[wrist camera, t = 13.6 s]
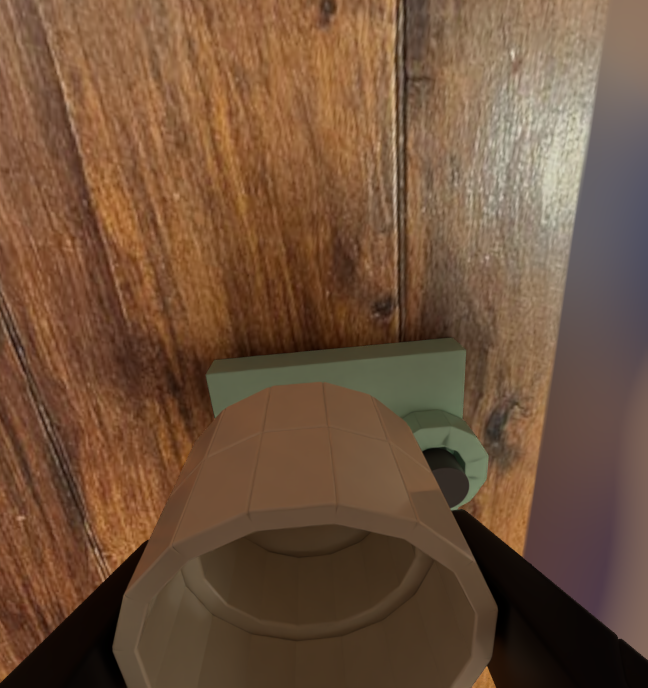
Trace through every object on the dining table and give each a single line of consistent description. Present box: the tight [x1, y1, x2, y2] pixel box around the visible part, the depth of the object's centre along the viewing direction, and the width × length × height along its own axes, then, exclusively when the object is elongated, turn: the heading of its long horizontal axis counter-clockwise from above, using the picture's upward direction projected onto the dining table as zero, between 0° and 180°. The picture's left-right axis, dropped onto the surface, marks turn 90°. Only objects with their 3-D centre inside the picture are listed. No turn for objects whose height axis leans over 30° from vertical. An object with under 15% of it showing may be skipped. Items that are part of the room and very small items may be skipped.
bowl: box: [112, 382, 498, 688], centre depth 8 cm, size 6×6×4 cm
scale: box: [206, 338, 488, 510], centre depth 21 cm, size 14×12×4 cm
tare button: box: [422, 448, 469, 508], centre depth 19 cm, size 3×3×2 cm
